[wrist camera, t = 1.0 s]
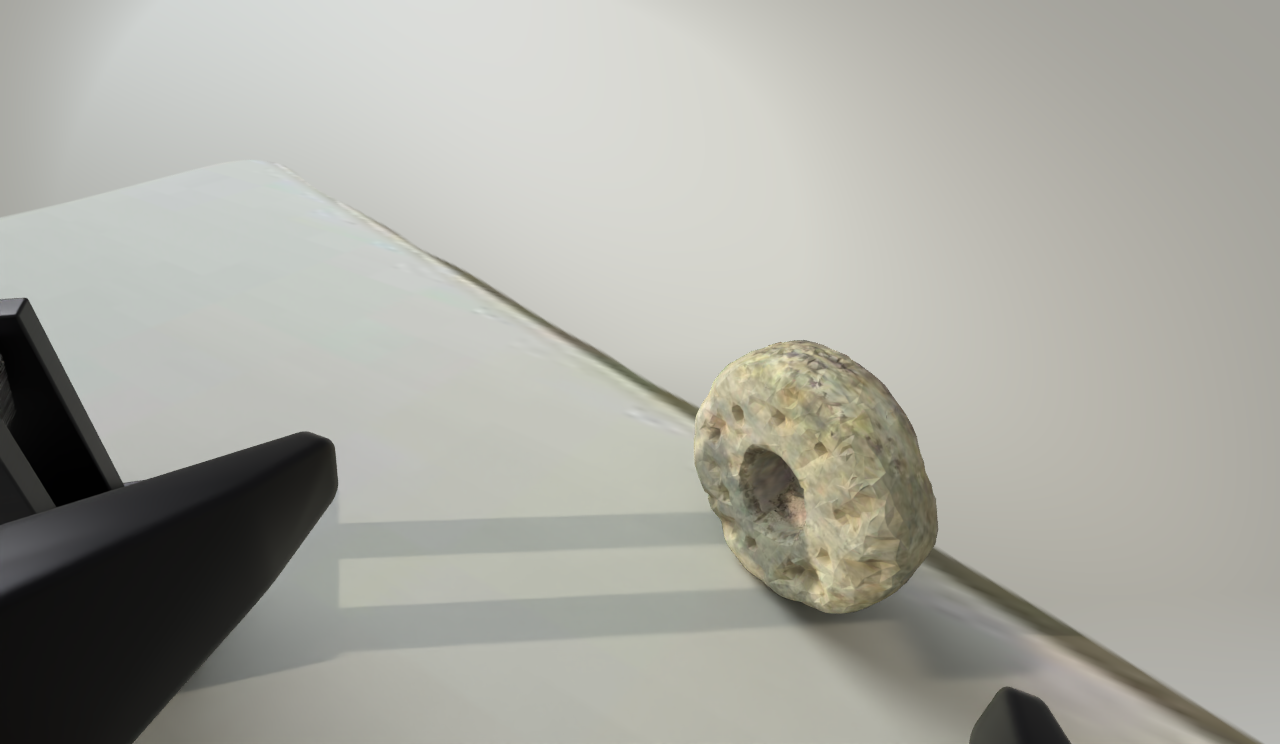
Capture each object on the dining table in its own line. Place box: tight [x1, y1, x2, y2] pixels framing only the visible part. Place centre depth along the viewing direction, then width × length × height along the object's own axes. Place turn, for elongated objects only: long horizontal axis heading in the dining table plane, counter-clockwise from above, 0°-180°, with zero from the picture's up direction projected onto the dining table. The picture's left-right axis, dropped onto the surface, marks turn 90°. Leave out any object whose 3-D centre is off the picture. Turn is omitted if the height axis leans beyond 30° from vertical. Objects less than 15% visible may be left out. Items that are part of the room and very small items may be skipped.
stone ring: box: [694, 340, 938, 613], centre depth 27 cm, size 10×4×10 cm, turn 32°
